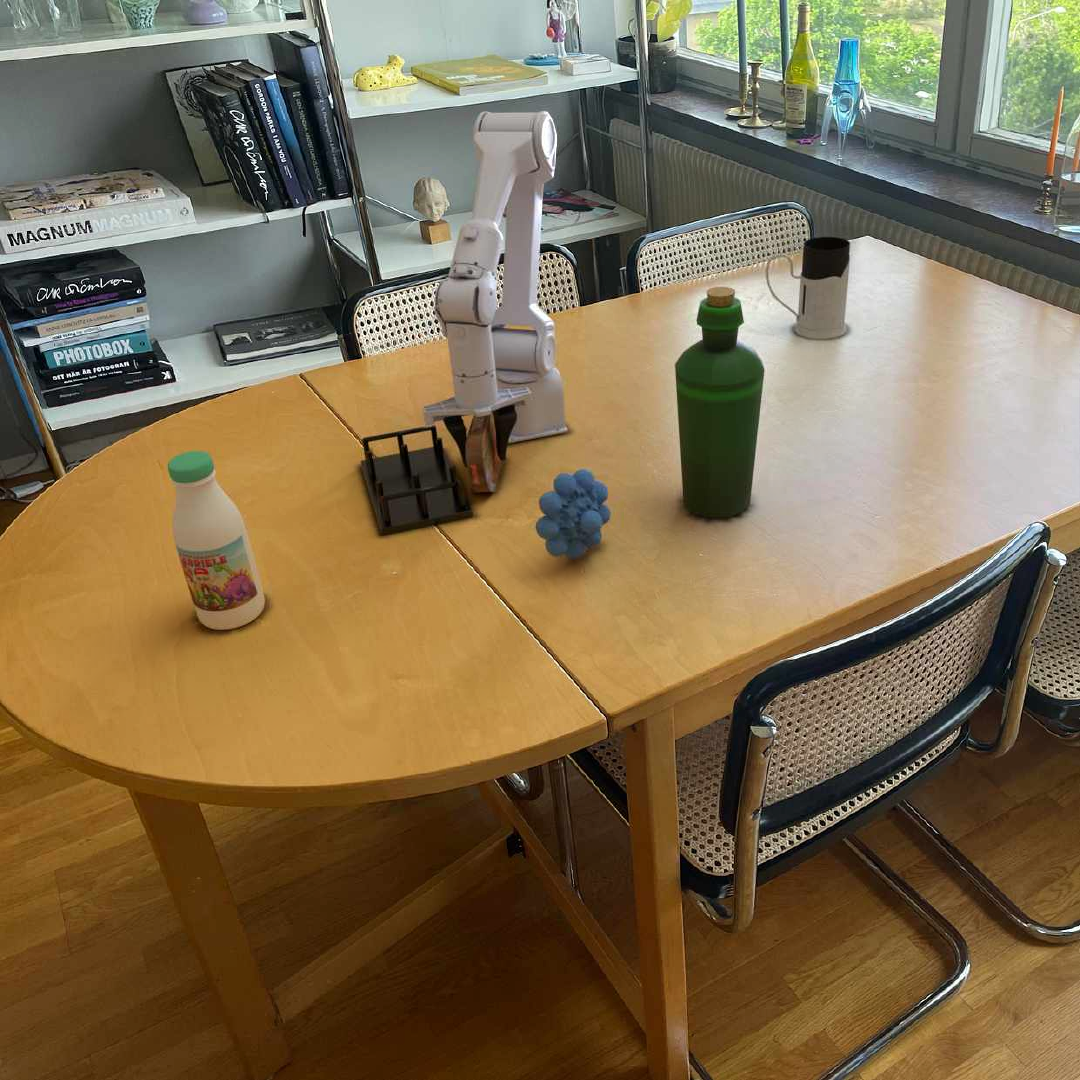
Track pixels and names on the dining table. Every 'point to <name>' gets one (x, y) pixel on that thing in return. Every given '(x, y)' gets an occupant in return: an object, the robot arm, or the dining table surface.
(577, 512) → the grapes
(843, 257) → the glass holder
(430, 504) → the rack
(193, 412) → the dining table surface
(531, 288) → the robot arm
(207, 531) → the milk bottle
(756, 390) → the bottle
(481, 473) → the tin
